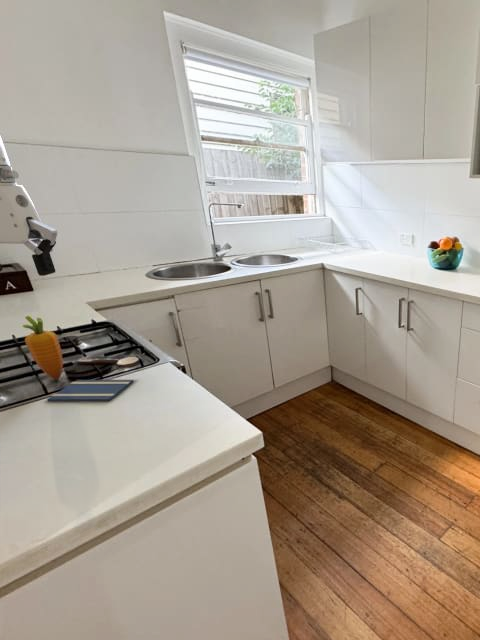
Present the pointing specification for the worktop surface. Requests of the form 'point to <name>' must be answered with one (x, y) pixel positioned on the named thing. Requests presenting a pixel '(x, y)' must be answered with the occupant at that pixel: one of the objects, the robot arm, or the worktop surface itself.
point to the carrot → (44, 348)
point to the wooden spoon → (112, 361)
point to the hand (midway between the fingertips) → (20, 273)
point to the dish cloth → (91, 390)
